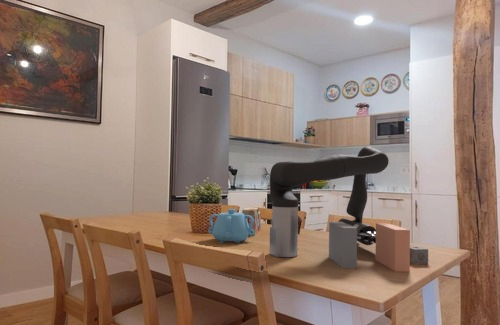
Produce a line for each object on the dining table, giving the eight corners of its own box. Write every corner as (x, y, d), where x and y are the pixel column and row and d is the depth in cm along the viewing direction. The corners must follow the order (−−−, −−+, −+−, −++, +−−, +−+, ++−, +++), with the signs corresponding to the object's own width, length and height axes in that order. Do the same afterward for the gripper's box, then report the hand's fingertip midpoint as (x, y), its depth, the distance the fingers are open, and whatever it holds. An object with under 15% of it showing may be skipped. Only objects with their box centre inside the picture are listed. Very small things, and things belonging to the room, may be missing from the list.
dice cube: (418, 260, 126) (419, 246, 126) (428, 264, 121) (428, 249, 121) (405, 261, 125) (405, 246, 125) (414, 264, 120) (414, 249, 120)
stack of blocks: (248, 229, 192) (249, 205, 192) (260, 229, 191) (261, 205, 191) (241, 235, 171) (242, 209, 171) (254, 236, 170) (255, 209, 170)
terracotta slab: (409, 271, 111) (409, 230, 111) (395, 271, 111) (395, 229, 111) (388, 259, 126) (388, 223, 126) (375, 259, 126) (375, 223, 126)
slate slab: (356, 268, 114) (357, 227, 114) (342, 268, 113) (342, 227, 114) (341, 257, 129) (341, 221, 129) (328, 257, 128) (329, 221, 129)
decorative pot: (238, 236, 168) (238, 206, 168) (257, 242, 154) (257, 209, 155) (205, 239, 159) (206, 208, 160) (222, 245, 145) (223, 211, 146)
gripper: (380, 243, 144) (401, 252, 126) (347, 243, 143) (364, 252, 125) (380, 224, 144) (401, 231, 126) (347, 223, 143) (364, 230, 126)
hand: (383, 241), depth 126 cm, fingers closed
